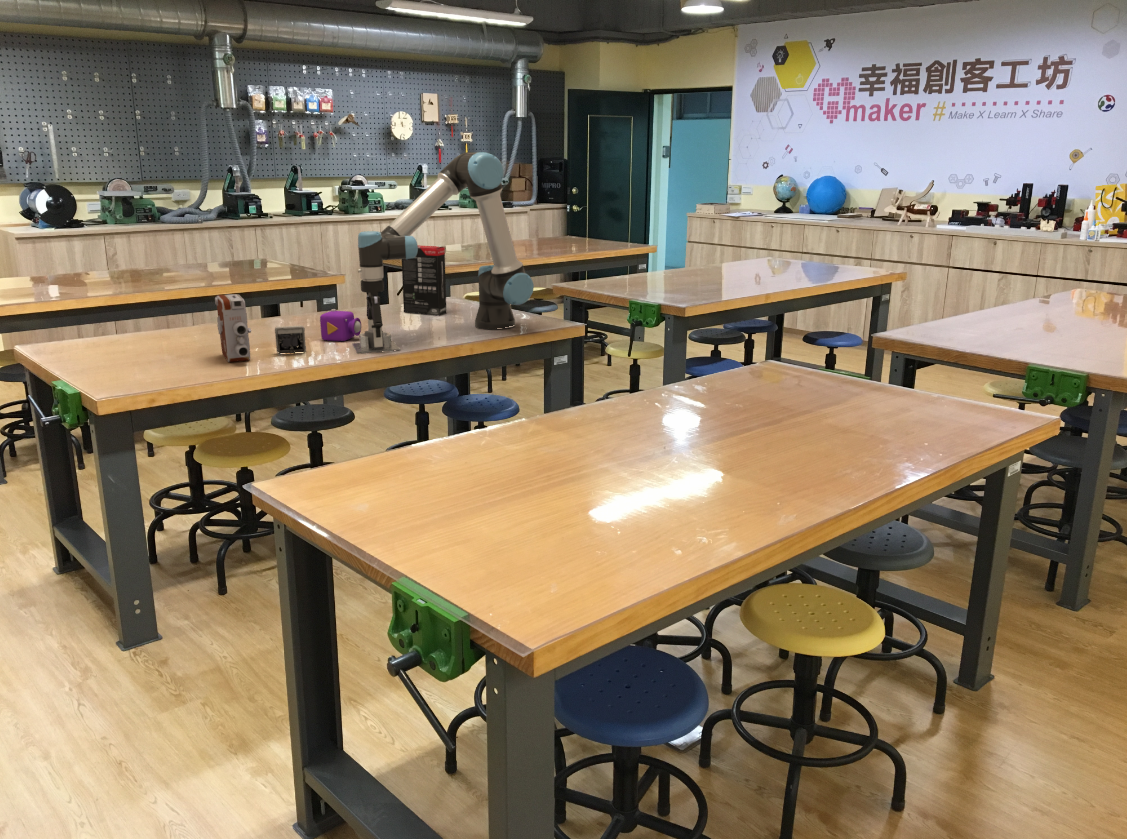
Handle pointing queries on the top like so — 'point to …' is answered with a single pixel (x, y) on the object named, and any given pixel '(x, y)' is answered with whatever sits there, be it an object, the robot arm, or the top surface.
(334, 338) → the toy camera
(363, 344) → the grey square plate
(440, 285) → the graphics card box
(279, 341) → the electrical switch
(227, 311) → the cine camera
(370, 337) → the dark grey cylinder
